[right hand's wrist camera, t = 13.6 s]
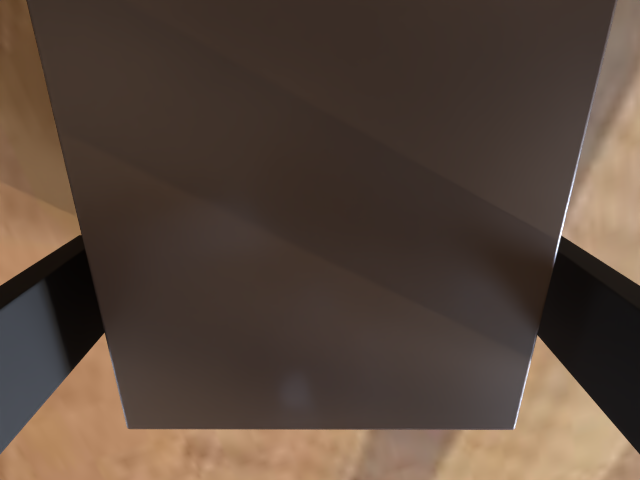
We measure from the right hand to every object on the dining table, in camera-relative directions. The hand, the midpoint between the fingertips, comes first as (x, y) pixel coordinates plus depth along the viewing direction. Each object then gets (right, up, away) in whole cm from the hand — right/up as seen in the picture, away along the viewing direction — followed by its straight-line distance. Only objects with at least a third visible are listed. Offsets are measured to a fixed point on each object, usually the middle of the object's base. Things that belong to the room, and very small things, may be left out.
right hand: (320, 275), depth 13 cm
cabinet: (0, +9, +3) cm, 9 cm away
